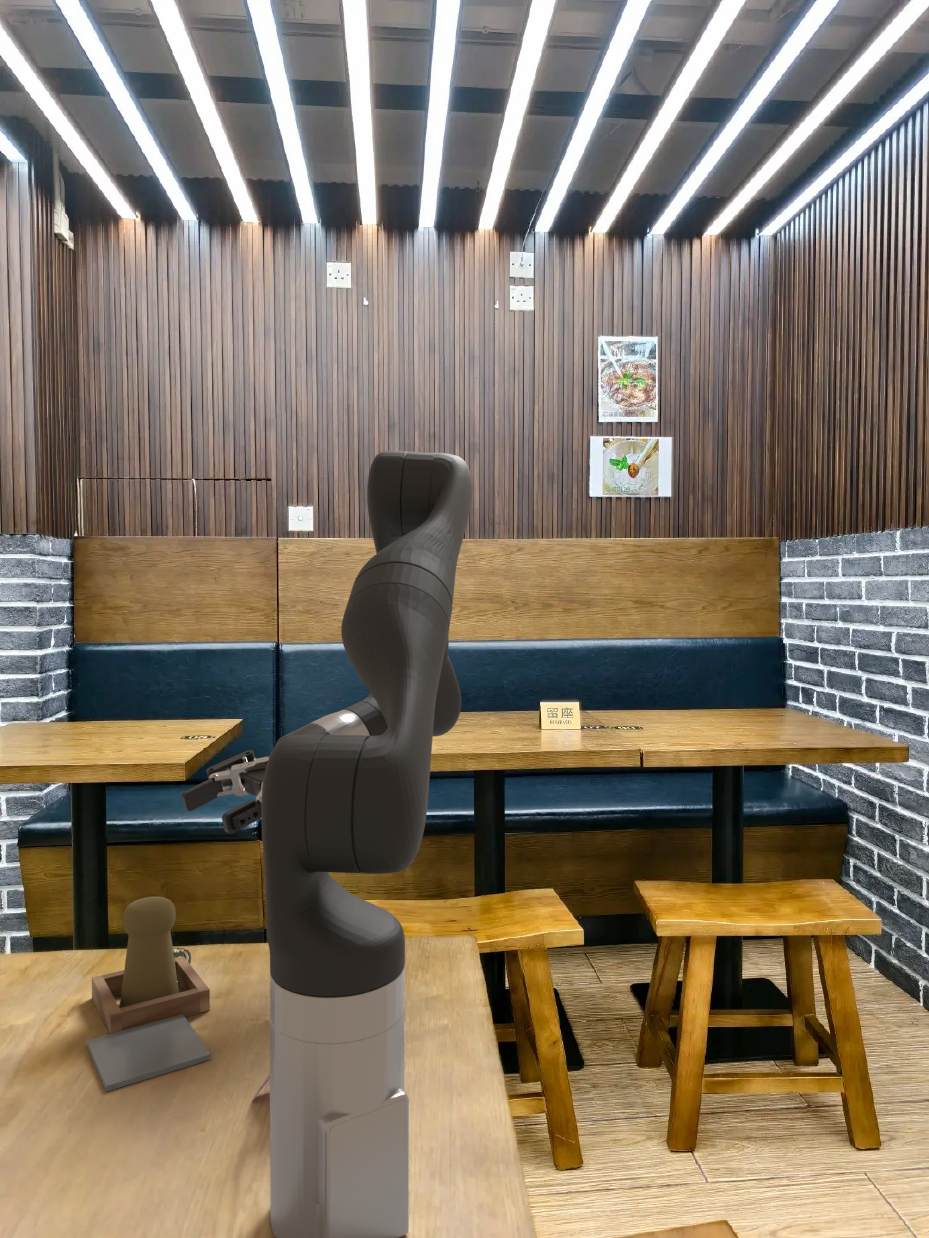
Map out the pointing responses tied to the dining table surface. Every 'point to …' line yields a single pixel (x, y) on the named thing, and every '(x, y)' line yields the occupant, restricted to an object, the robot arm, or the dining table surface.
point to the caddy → (152, 1010)
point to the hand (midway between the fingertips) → (203, 813)
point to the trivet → (146, 1051)
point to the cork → (149, 951)
